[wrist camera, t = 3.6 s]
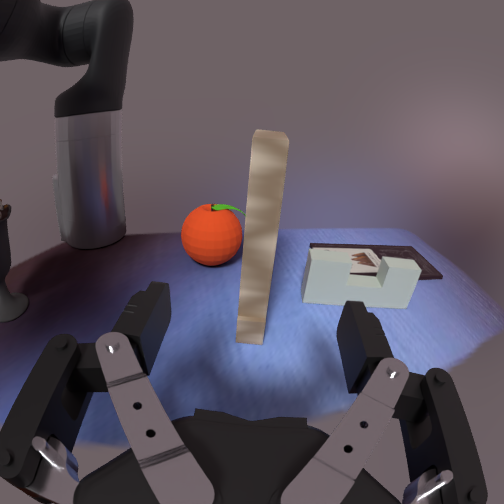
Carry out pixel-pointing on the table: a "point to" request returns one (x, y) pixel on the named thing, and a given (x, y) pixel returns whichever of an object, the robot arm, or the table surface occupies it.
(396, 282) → the slotted rail
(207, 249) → the clementine
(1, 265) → the sundae
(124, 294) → the table surface
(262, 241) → the tapered block
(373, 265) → the chocolate bar
